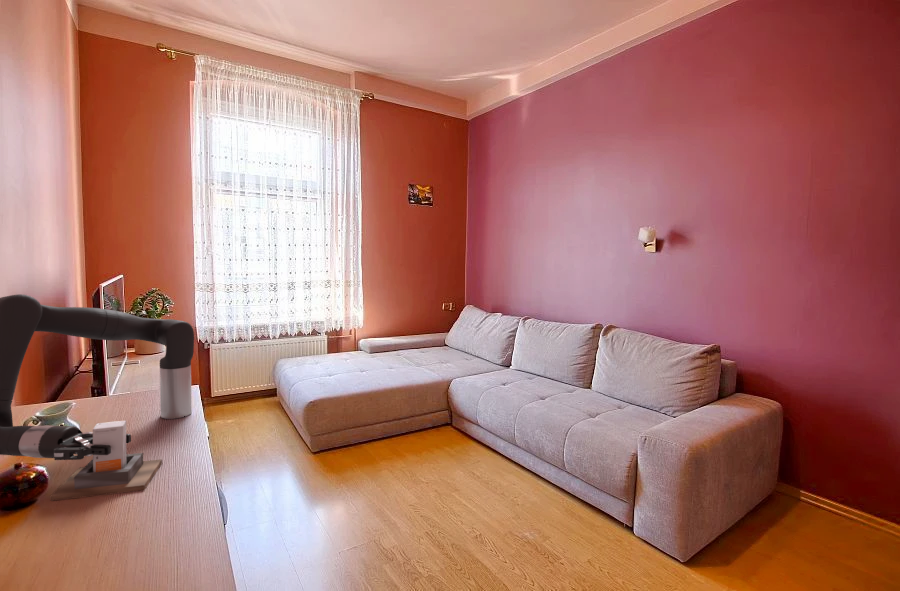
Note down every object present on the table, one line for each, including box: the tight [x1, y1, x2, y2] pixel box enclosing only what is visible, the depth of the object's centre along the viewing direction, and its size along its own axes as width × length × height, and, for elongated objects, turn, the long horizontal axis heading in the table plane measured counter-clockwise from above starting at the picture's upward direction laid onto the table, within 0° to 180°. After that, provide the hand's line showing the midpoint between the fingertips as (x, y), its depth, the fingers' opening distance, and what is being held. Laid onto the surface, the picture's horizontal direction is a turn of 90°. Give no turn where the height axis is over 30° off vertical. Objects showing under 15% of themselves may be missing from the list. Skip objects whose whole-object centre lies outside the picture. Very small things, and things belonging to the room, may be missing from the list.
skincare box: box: [92, 420, 127, 472], centre depth 108 cm, size 6×4×12 cm
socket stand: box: [50, 452, 163, 502], centre depth 108 cm, size 14×18×4 cm
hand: (120, 444), depth 108 cm, fingers closed on skincare box, 6 cm apart
